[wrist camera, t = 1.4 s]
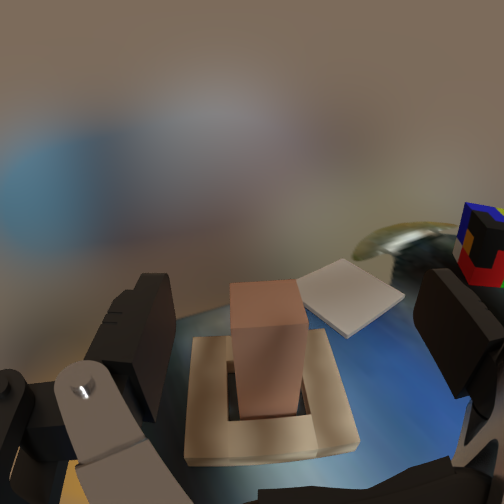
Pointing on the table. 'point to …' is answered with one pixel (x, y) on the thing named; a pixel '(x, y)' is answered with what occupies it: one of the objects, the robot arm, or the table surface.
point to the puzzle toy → (481, 245)
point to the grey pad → (346, 296)
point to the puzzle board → (265, 430)
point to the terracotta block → (268, 347)
